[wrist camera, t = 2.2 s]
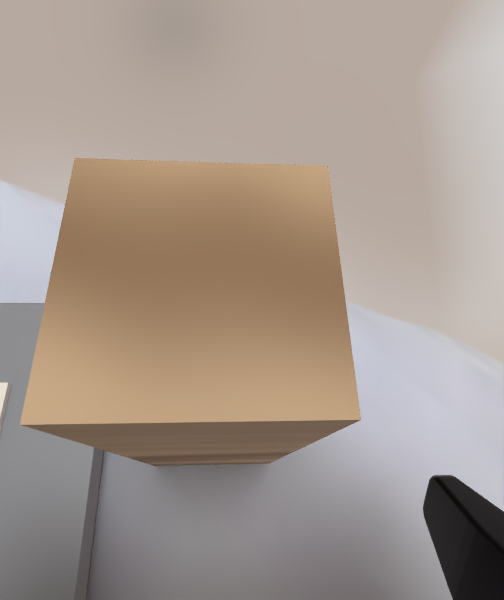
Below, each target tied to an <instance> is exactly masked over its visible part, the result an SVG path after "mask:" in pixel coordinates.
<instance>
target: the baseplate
mask: <svg viewBox="0 0 504 600" xmlns="http://www.w3.org/2000/svg"><path fill="white" fill-rule="evenodd" d="M44 305H45V303H0V600H86V594H87V586H88V577H89V569H90V561H91V553H92V544H93V536H94V528H95V519H96V511H97V503H98V495H99V486H100V478H101V470H102V461H103V453H104V450H101V449H98V448H95V447H91V446H88V445H85V444H81V443H78V442H75V441H72V440H68V439H65V438H62V437H58V436H55V435H52V434H48V433H45V432H42V431H39V430H35V429H32V428H29V427H25V426H22V425H20V421H21V416H22V412H23V407H24V402H25V397H26V392H27V387H28V383H29V378H30V373H31V368H32V363H33V358H34V354H35V349H36V344H37V339H38V334H39V329H40V324H41V320H42V315H43V310H44Z"/></svg>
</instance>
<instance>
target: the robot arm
mask: <svg viewBox="0 0 504 600" xmlns="http://www.w3.org/2000/svg"><path fill="white" fill-rule="evenodd" d="M423 513H424V518H425V521H426V524H427V527H428V530H429V533H430V535H431V538H432V541H433V544H434V547H435V550H436V553H437V556H438V559H439V561H440V564H441V567H442V570H443V573H444V576H445V579H446V582H447V585H448V587H449V590H450V593H451V595H452V598H453V600H504V512H503V511H502V510H501V509H499V508H498V507H496V506H495V505H494V504H492V503H491V502H489V501H488V500H487V499H485V498H484V497H482V496H481V495H480V494H478V493H477V492H475V491H474V490H473V489H471V488H470V487H468V486H467V485H466V484H464V483H463V482H461V481H460V480H459V479H457V478H456V477H454V476H451V475H435V476H432V477H431V478H430V480H429V484H428V488H427V492H426V496H425V500H424V505H423Z"/></svg>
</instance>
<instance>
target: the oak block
mask: <svg viewBox="0 0 504 600" xmlns="http://www.w3.org/2000/svg"><path fill="white" fill-rule="evenodd" d="M359 420H361V417H360V409H359V401H358V394H357V386H356V379H355V371H354V363H353V356H352V348H351V340H350V333H349V325H348V317H347V310H346V302H345V295H344V288H343V279H342V272H341V264H340V256H339V249H338V242H337V235H336V227H335V218H334V212H333V203H332V196H331V188H330V180H329V172H328V166H305V165H274V164H242V163H211V162H210V163H209V162H179V161H147V160H115V159H83V158H75V160H74V165H73V170H72V174H71V179H70V184H69V189H68V194H67V199H66V203H65V208H64V213H63V218H62V223H61V228H60V232H59V237H58V242H57V247H56V252H55V257H54V262H53V266H52V271H51V276H50V281H49V286H48V291H47V295H46V300H45V305H44V310H43V315H42V320H41V324H40V329H39V334H38V339H37V344H36V349H35V354H34V358H33V363H32V368H31V373H30V378H29V383H28V387H27V392H26V397H25V402H24V407H23V412H22V416H21V421H20V425H22V426H25V427H29V428H32V429H35V430H39V431H42V432H45V433H48V434H52V435H55V436H58V437H62V438H65V439H68V440H72V441H75V442H78V443H81V444H85V445H88V446H91V447H95V448H98V449H101V450H105V451H108V452H111V453H114V454H118V455H121V456H124V457H128V458H131V459H134V460H138V461H141V462H144V463H148V464H151V465H154V466H164V465H209V464H254V463H271V462H273V461H275V460H277V459H279V458H281V457H283V456H285V455H288V454H290V453H292V452H294V451H296V450H298V449H300V448H302V447H305V446H307V445H309V444H311V443H313V442H315V441H317V440H319V439H321V438H324V437H326V436H328V435H330V434H332V433H334V432H336V431H338V430H340V429H343V428H345V427H347V426H349V425H351V424H353V423H355V422H357V421H359Z"/></svg>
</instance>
